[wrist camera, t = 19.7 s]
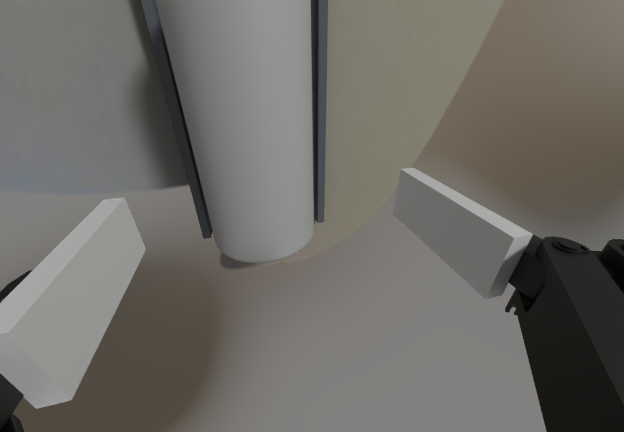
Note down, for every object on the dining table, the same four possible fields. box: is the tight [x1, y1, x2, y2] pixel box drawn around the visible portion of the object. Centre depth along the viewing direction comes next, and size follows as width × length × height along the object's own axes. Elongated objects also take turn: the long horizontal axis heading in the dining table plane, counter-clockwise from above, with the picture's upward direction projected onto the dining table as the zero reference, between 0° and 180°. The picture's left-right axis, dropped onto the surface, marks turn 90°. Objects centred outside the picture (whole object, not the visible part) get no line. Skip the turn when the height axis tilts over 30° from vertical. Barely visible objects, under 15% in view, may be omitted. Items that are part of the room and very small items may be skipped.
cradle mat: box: [141, 0, 328, 239], centre depth 32 cm, size 30×18×2 cm, turn 1°
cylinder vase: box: [156, 0, 314, 263], centre depth 27 cm, size 12×12×25 cm
